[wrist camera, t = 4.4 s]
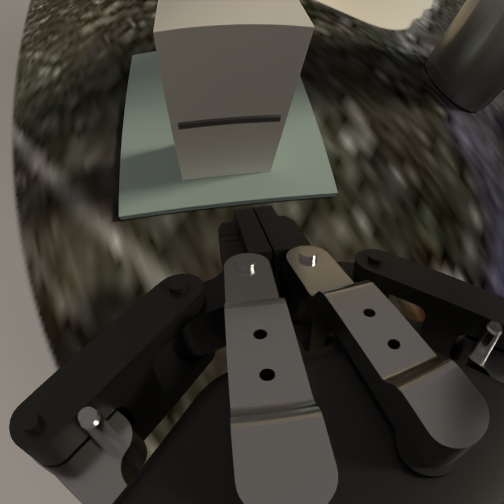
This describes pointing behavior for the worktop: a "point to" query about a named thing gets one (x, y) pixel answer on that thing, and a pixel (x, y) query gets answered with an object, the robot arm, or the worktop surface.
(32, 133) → the worktop surface
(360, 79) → the worktop surface
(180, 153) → the domino
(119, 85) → the worktop surface
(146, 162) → the mat
